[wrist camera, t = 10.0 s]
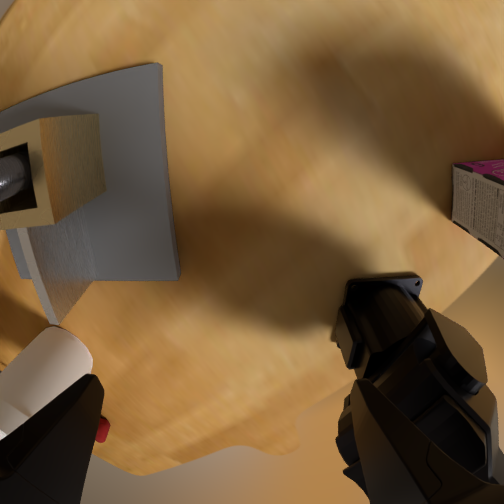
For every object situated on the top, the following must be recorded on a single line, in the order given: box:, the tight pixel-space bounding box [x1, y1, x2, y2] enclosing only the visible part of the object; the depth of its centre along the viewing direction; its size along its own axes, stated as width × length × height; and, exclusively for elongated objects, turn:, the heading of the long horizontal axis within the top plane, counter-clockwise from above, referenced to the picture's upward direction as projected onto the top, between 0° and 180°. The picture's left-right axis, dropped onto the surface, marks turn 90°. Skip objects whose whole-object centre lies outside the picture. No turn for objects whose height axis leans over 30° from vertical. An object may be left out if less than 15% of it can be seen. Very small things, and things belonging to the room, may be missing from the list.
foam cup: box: [0, 326, 93, 440], centre depth 19 cm, size 10×9×13 cm
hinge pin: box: [0, 150, 33, 202], centre depth 12 cm, size 2×2×8 cm
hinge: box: [0, 114, 107, 325], centre depth 15 cm, size 11×11×6 cm
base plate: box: [0, 63, 181, 281], centre depth 17 cm, size 15×14×1 cm
